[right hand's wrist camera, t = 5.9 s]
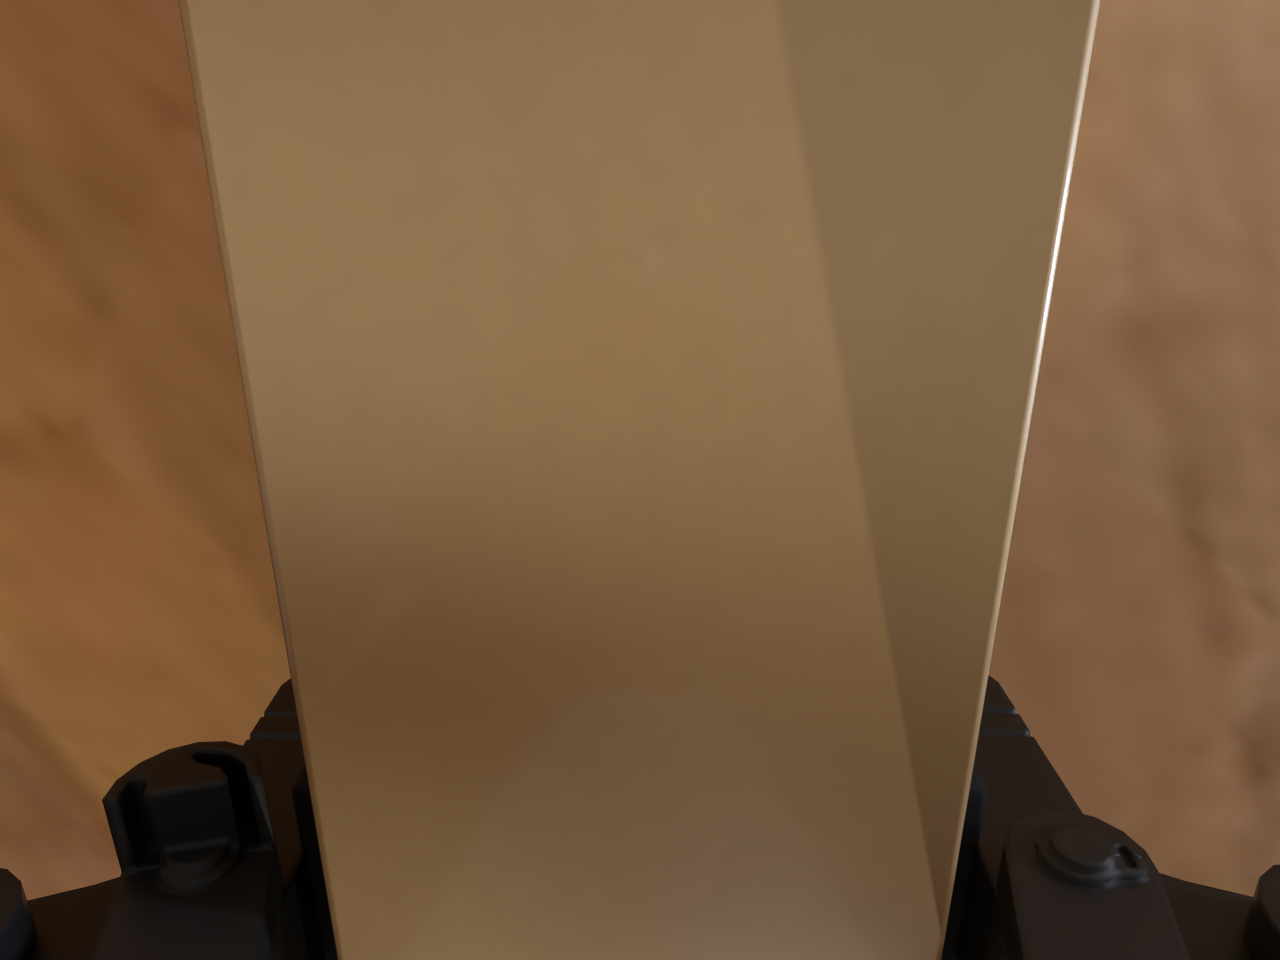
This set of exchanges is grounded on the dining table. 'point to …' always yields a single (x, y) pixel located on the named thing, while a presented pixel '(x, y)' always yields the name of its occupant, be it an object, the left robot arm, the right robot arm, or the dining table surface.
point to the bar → (639, 446)
